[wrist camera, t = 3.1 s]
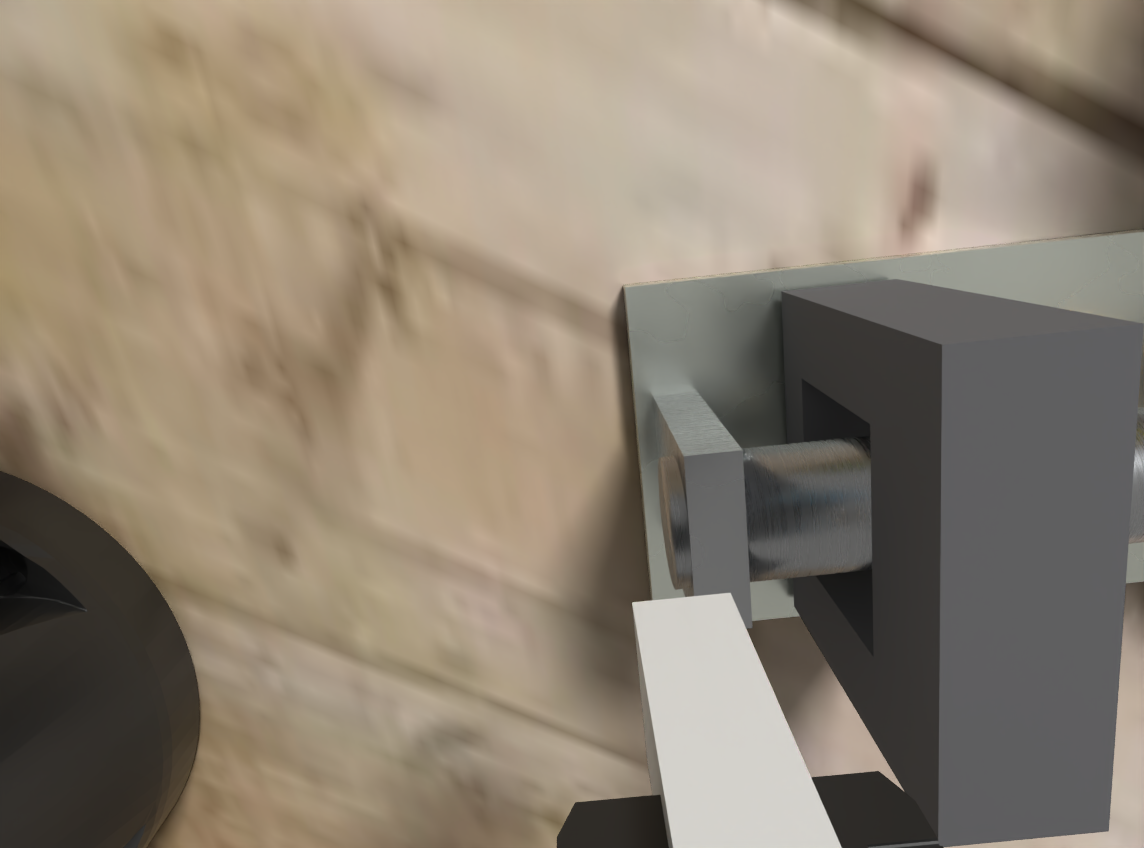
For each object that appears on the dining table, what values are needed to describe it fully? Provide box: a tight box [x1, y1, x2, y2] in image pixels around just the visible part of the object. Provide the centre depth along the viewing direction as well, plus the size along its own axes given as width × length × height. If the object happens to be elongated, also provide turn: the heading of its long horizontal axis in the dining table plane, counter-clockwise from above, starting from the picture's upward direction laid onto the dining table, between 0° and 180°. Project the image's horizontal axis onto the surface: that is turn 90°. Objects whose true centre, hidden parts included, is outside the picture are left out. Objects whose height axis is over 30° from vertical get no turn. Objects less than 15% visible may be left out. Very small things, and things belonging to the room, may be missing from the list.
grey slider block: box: [781, 279, 1144, 847], centre depth 18 cm, size 3×9×9 cm, turn 6°
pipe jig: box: [623, 229, 1144, 628], centre depth 20 cm, size 19×10×7 cm, turn 96°
